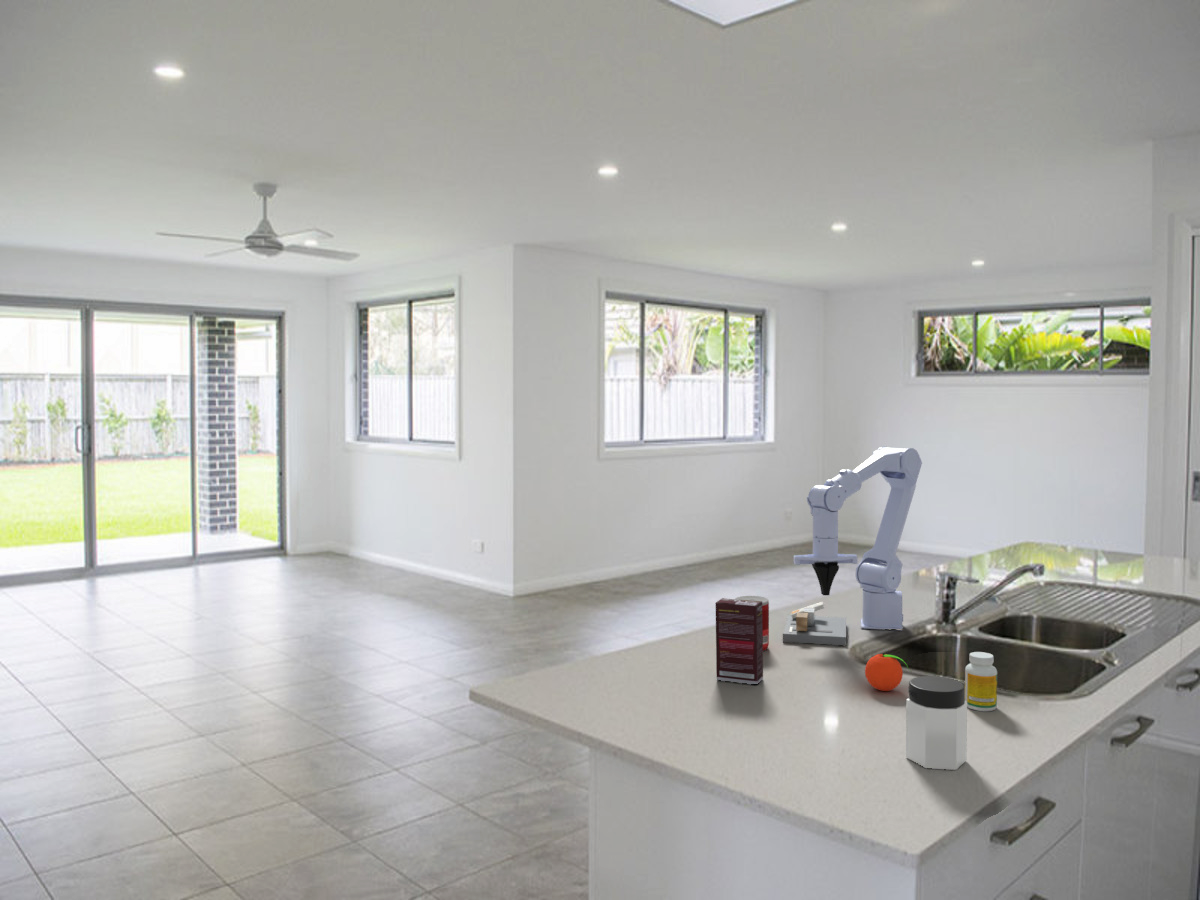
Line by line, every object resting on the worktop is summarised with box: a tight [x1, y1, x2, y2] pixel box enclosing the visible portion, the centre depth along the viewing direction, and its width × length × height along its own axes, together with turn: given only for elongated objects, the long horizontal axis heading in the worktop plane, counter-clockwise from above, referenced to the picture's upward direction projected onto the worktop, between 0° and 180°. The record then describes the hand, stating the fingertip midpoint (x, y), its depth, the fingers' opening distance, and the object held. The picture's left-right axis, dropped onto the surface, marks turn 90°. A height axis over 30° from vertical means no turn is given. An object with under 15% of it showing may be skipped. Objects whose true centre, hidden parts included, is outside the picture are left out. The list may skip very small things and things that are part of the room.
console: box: [782, 613, 847, 646], centre depth 217 cm, size 14×19×3 cm
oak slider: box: [796, 613, 808, 631], centre depth 212 cm, size 2×4×3 cm, turn 165°
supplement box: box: [714, 597, 764, 685], centre depth 182 cm, size 9×5×16 cm, turn 65°
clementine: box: [864, 653, 909, 692], centre depth 175 cm, size 8×7×7 cm
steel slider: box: [803, 607, 816, 626], centre depth 217 cm, size 2×4×3 cm, turn 165°
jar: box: [905, 675, 968, 771], centre depth 141 cm, size 9×8×12 cm
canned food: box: [734, 595, 770, 652], centre depth 205 cm, size 8×8×11 cm
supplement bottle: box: [964, 651, 998, 712], centre depth 165 cm, size 5×5×10 cm
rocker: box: [790, 601, 825, 618], centre depth 223 cm, size 8×4×1 cm, turn 74°
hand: (825, 594), depth 214 cm, fingers closed
